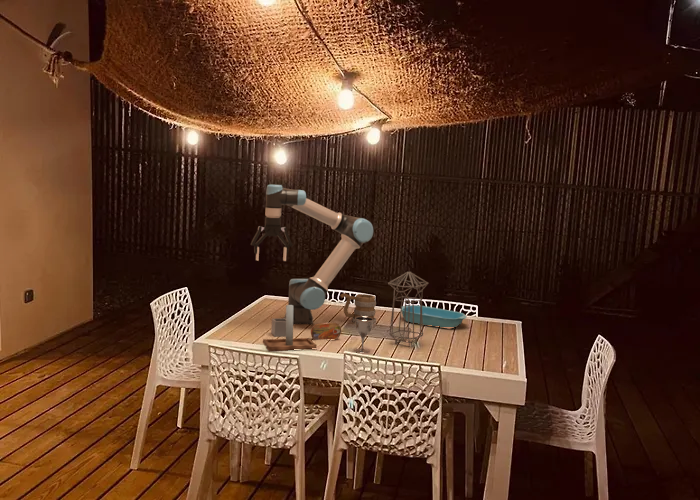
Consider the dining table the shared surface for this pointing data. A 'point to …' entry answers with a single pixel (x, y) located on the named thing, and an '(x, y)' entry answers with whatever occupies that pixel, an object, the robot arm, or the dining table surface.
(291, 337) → the dowel
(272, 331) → the cup
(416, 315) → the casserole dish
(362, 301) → the tankard
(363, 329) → the wine glass
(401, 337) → the geometric lantern
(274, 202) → the robot arm
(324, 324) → the tin
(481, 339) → the dining table surface
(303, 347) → the tray
